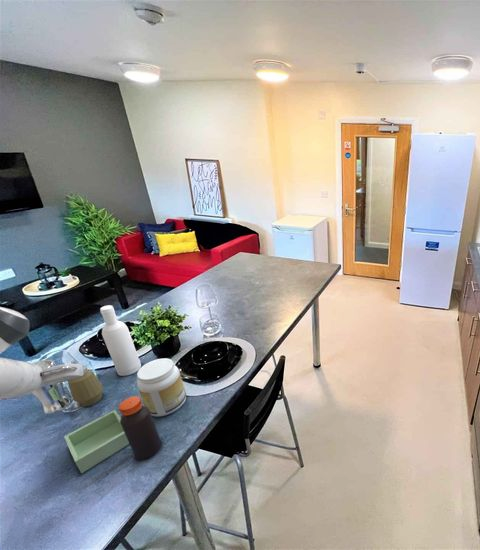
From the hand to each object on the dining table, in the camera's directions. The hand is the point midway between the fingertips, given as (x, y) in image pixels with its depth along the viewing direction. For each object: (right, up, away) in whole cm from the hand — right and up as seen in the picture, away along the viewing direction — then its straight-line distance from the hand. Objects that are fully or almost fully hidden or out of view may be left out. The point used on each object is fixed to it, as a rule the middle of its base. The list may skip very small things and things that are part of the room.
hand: (46, 383), depth 85 cm
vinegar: (+27, -23, +5) cm, 35 cm away
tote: (+11, -21, +6) cm, 25 cm away
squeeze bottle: (-6, -14, +20) cm, 26 cm away
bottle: (-4, -8, +35) cm, 36 cm away
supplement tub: (+22, -15, +20) cm, 34 cm away
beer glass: (0, -8, +3) cm, 9 cm away
